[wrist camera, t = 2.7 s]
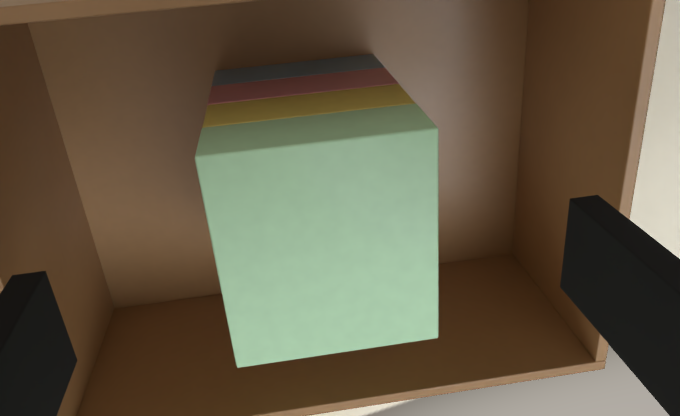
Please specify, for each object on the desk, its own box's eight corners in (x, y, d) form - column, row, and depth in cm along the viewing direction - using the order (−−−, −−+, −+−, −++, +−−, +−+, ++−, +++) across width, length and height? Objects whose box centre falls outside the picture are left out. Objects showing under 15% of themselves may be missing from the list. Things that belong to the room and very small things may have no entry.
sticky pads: (374, 53, 22) (439, 127, 15) (381, 208, 25) (438, 338, 18) (214, 70, 22) (193, 156, 14) (241, 226, 25) (236, 369, 17)
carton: (109, 311, 26) (58, 455, 19) (7, -18, 20) (-124, 18, 13) (516, 255, 28) (605, 369, 21) (538, -66, 22) (675, -57, 15)
